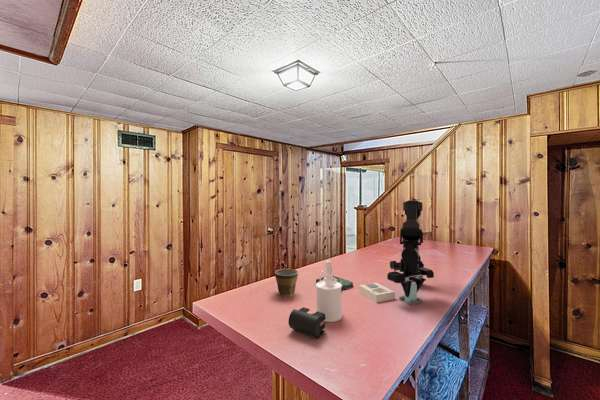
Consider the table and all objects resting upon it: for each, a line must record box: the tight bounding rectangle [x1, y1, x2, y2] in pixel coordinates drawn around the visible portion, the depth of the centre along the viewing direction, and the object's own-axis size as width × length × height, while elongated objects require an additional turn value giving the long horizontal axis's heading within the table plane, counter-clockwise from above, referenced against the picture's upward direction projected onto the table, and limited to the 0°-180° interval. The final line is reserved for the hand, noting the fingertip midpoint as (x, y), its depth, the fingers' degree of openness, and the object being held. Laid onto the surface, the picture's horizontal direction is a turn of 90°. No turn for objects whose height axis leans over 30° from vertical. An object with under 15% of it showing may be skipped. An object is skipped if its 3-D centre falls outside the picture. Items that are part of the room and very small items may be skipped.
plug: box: [404, 280, 418, 302], centre depth 109 cm, size 3×3×8 cm
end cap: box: [288, 306, 327, 339], centre depth 86 cm, size 10×7×7 cm
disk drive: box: [315, 275, 354, 292], centre depth 129 cm, size 10×3×15 cm
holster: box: [398, 295, 423, 306], centre depth 109 cm, size 6×6×2 cm
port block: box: [358, 282, 396, 304], centre depth 115 cm, size 9×12×4 cm
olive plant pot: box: [273, 268, 299, 298], centre depth 119 cm, size 13×10×10 cm
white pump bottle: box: [315, 260, 343, 323], centre depth 98 cm, size 10×9×20 cm
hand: (410, 296), depth 109 cm, fingers closed on plug, 3 cm apart
